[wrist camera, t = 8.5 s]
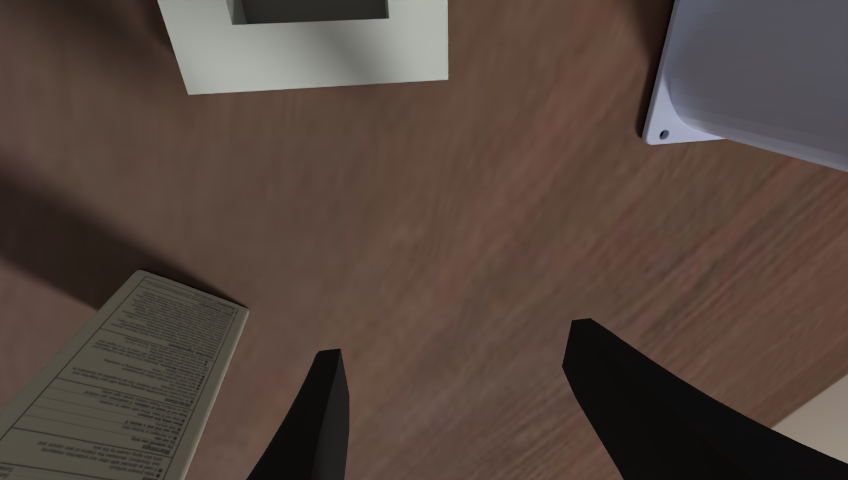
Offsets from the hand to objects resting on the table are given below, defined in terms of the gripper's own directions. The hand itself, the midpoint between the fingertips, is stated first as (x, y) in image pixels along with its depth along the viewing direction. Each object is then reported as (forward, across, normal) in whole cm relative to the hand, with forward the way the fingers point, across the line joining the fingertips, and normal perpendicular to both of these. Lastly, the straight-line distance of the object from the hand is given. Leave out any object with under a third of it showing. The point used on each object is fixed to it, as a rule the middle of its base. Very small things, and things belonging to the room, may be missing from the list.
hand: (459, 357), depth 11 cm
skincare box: (+11, +14, +5) cm, 18 cm away
